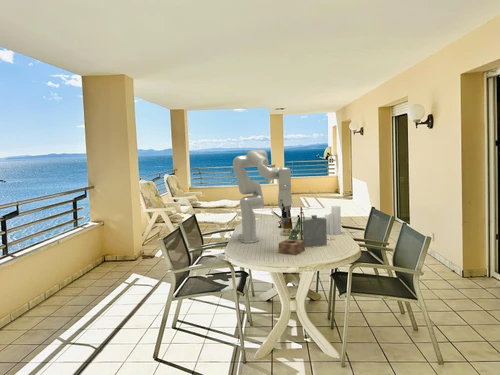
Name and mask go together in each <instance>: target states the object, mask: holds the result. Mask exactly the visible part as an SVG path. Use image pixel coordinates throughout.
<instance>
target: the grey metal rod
mask: <svg viewBox="0 0 500 375" xmlns="http://www.w3.org/2000/svg"><path fill="white" fill-rule="evenodd" d="M283 206H284V205H283ZM286 212H287V218H282V219H283V224H289V222H290V221H289V220H290V219H289V218H290V217H288V206H286Z"/></svg>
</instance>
